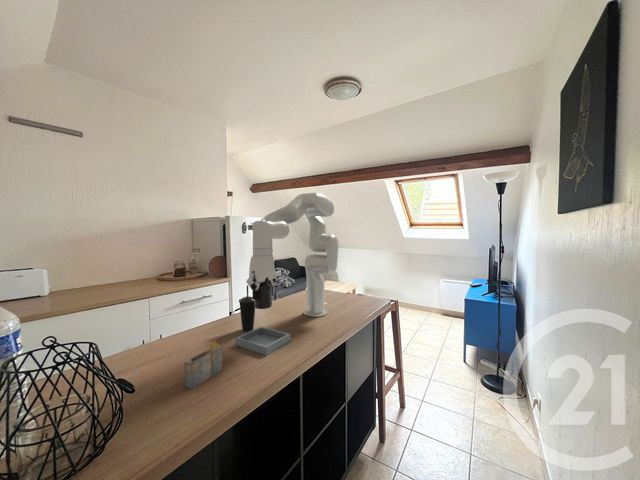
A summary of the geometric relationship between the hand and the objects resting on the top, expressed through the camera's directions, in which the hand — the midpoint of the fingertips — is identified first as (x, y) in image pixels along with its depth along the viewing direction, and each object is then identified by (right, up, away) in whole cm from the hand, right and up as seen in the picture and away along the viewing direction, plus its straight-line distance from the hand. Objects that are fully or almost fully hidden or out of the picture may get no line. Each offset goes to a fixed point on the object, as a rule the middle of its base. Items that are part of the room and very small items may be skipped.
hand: (263, 297), depth 102 cm
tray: (0, -18, +1) cm, 18 cm away
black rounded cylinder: (-10, -18, +15) cm, 26 cm away
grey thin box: (-13, -20, -23) cm, 33 cm away
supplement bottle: (0, -4, 0) cm, 4 cm away
